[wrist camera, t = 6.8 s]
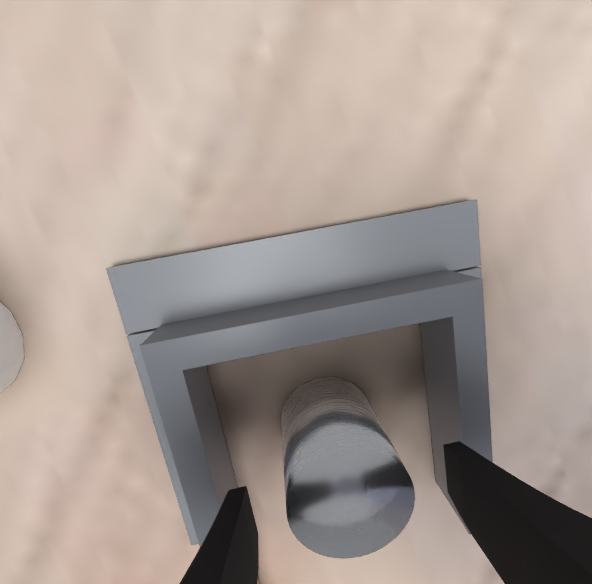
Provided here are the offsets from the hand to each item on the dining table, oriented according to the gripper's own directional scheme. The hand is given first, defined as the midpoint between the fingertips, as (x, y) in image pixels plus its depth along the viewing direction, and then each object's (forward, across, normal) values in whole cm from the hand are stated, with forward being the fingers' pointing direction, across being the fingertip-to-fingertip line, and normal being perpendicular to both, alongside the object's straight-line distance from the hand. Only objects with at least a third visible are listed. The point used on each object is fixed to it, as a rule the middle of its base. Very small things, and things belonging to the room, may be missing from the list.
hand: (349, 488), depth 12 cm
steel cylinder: (+4, 0, 0) cm, 4 cm away
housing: (+4, 0, -2) cm, 5 cm away
